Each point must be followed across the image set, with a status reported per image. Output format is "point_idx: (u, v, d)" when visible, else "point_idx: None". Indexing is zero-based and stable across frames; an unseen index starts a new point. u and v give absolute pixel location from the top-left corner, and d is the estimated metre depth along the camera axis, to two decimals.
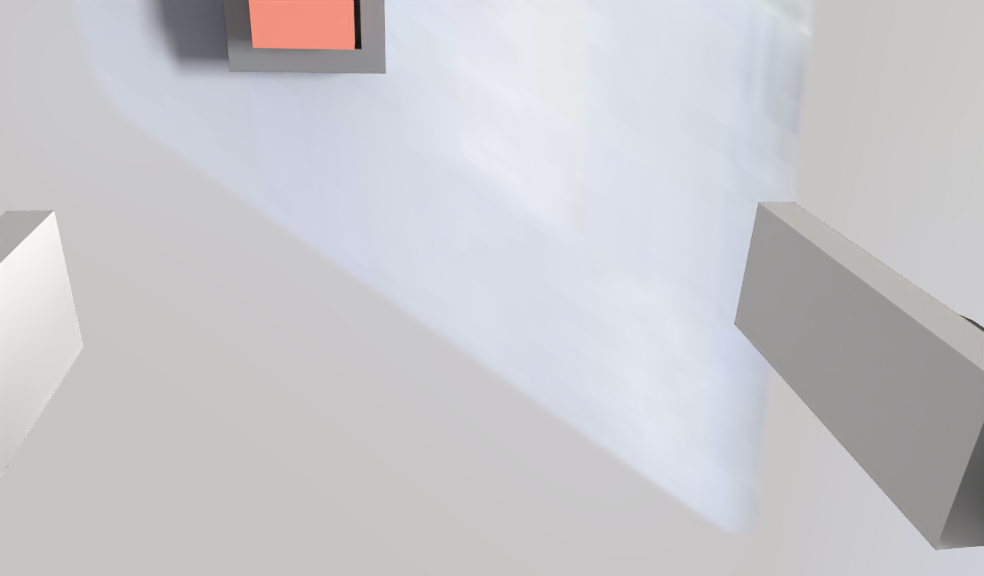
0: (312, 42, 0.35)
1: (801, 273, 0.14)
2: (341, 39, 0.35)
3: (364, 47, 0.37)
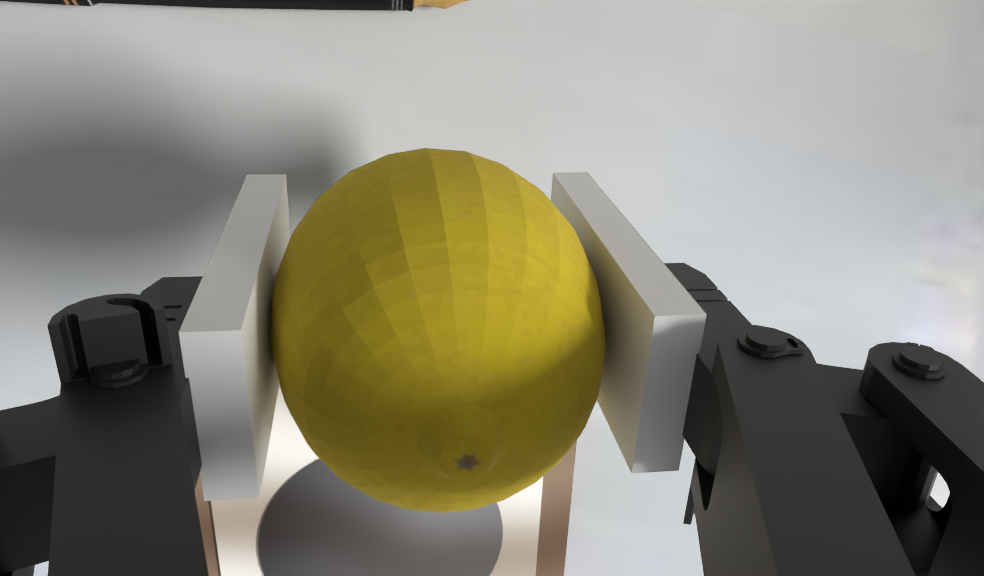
0: None
1: None
2: None
3: None
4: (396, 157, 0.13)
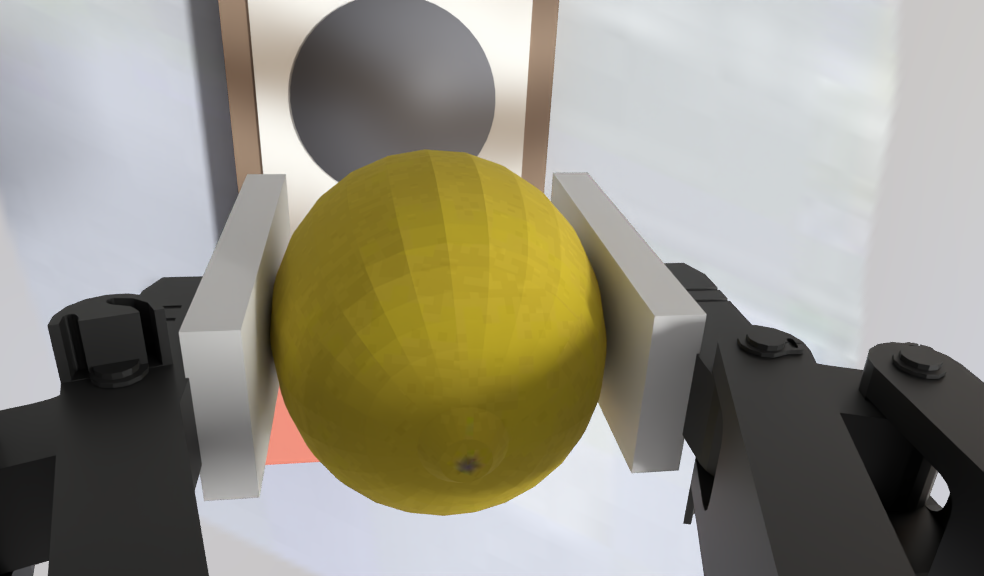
0: None
1: None
2: None
3: None
4: (396, 158, 0.13)
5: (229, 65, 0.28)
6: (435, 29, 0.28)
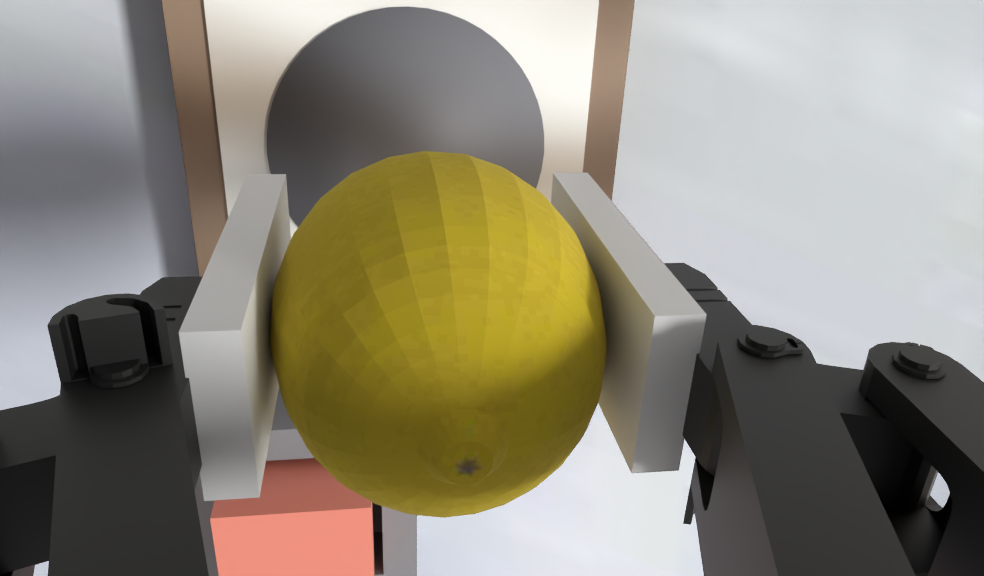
0: None
1: None
2: None
3: (387, 571, 0.26)
4: (396, 160, 0.13)
5: (182, 105, 0.20)
6: (465, 54, 0.21)
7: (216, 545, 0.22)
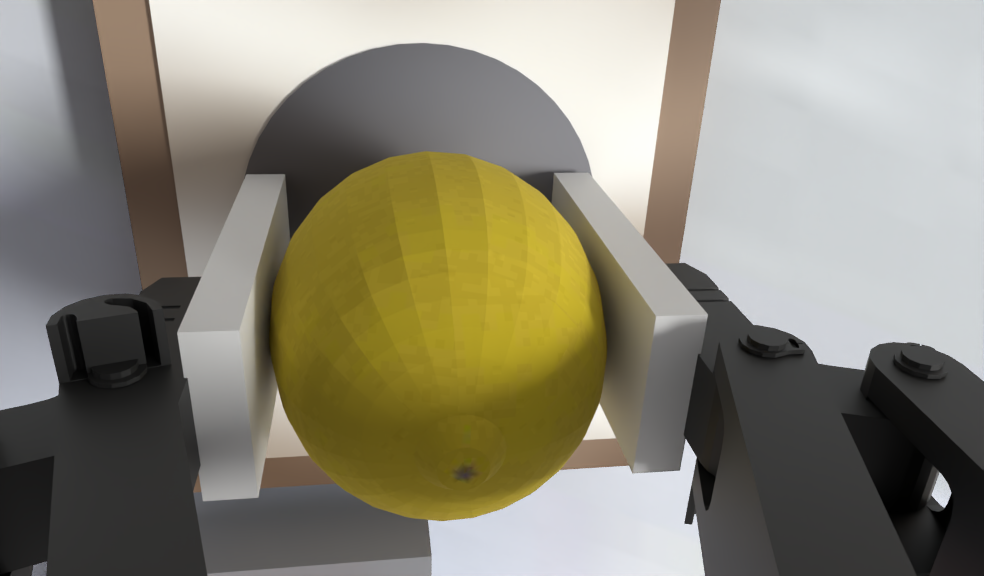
0: None
1: None
2: None
3: None
4: (397, 161, 0.13)
5: (130, 170, 0.16)
6: (497, 104, 0.16)
7: None
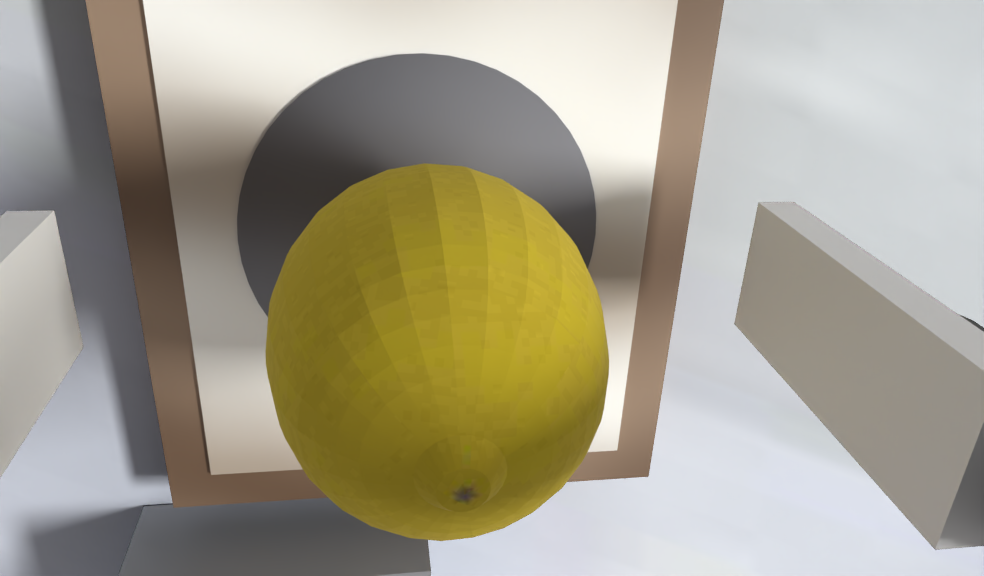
0: None
1: (802, 273, 0.14)
2: None
3: None
4: (395, 173, 0.12)
5: (125, 181, 0.15)
6: (496, 114, 0.16)
7: None
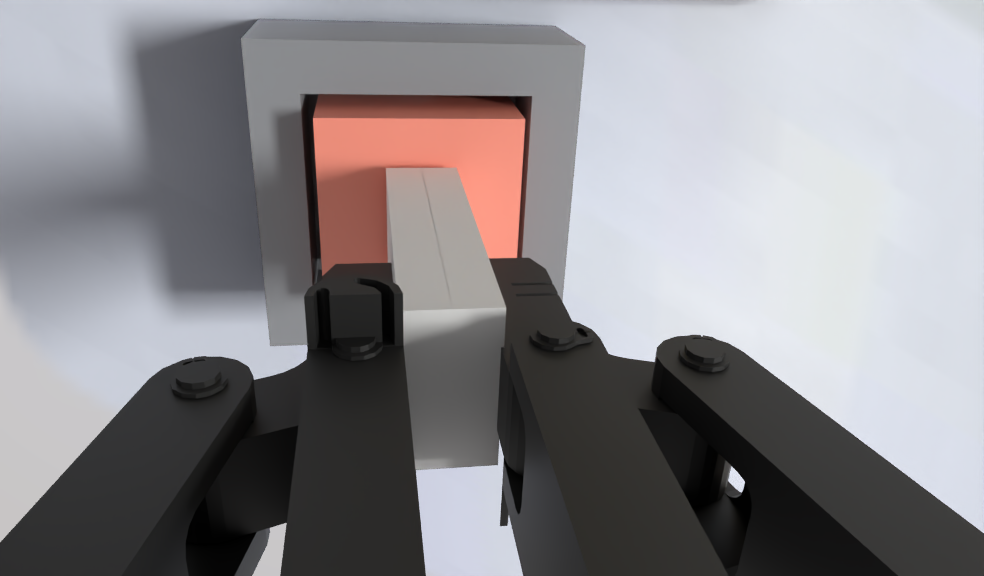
0: None
1: None
2: None
3: None
4: None
5: None
6: None
7: (318, 165, 0.16)
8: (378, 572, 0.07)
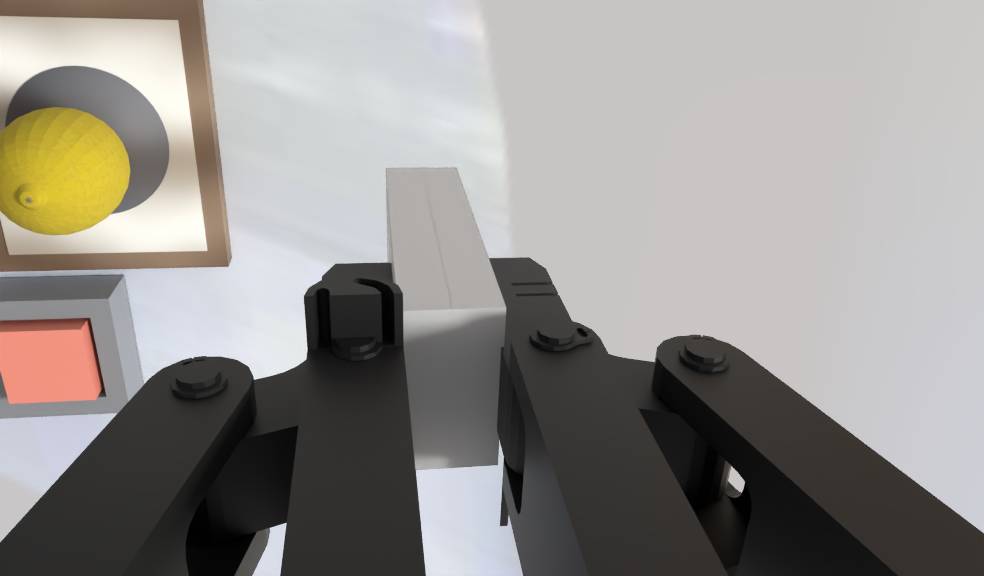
0: (59, 397, 0.42)
1: None
2: (83, 393, 0.43)
3: (108, 395, 0.44)
4: (39, 109, 0.35)
5: None
6: (111, 90, 0.38)
7: None
8: (377, 573, 0.07)
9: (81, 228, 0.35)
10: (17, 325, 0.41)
